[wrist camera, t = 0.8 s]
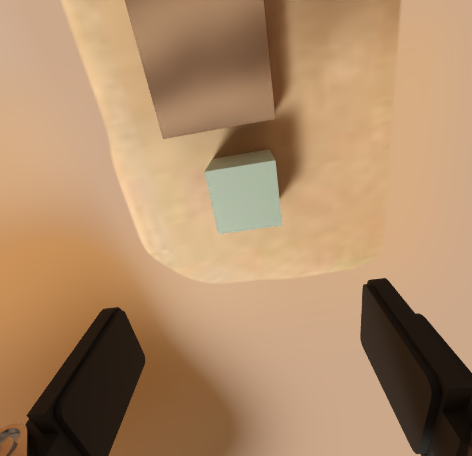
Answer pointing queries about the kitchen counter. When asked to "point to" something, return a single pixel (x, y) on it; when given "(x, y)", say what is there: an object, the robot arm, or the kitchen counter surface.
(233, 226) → the sage cube
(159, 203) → the kitchen counter surface
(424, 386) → the robot arm
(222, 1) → the walnut block
